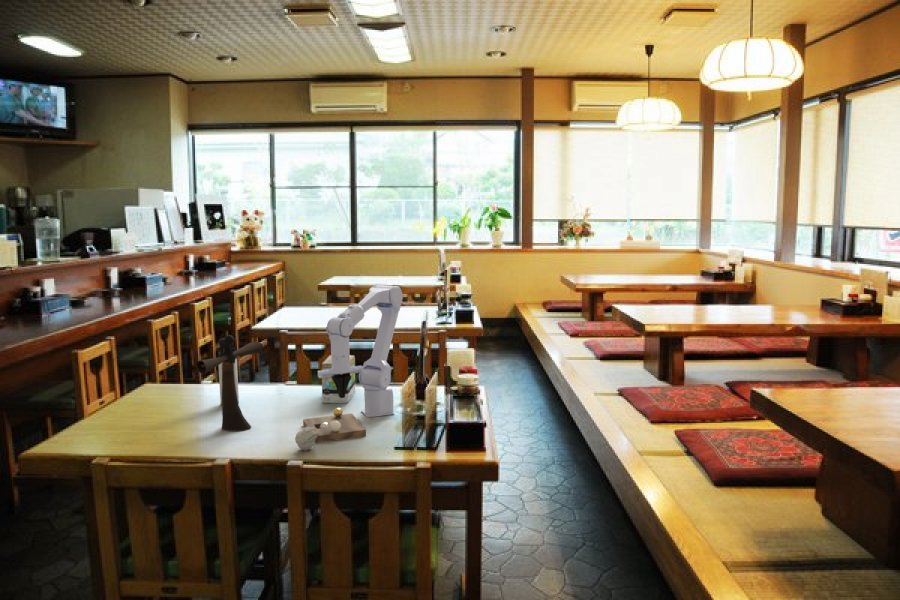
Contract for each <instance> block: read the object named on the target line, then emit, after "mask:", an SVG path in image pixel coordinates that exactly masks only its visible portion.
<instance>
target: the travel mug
mask: <svg viewBox="0 0 900 600" xmlns="http://www.w3.org/2000/svg"><path fill="white" fill-rule="evenodd" d="M232 351H233V352H235V351H237V348H235V347H232ZM220 352H221V350H220V351H218V352H217V357H221V355H220ZM222 353H223V352H222ZM223 355H224V353H223V354H222V356H223ZM233 364H234V377H235V387H236V393H237V399H238V404H240V399H239V398H240V397H239V379H238V378H239V377H238V359H237V357H235V363H233ZM218 381H219V397H220V398H219V399H220V406H221V407H222V363H221V364H219V365H218Z"/></svg>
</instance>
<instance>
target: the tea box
mask: <svg viewBox="0 0 900 600" xmlns="http://www.w3.org/2000/svg"><path fill="white" fill-rule="evenodd" d="M350 366H356V357H355V355H351V354H350ZM330 368H332V361H331V354H329V355H328V357H327V358H325V360H323V362H322V363H321V370H326V369H330ZM350 375H351V380H350V382H349V384H348V386H347V389H346V393H345V398H340V397H339V395H338V391H337V388H336V385H335V383H334V381H333V379H332V377H331V376H329V377H323V378H321V401H322V402H321V403H322V404H325V403H326V404H349V402H350V401H351V399H352V397H353V396H354V394H355V392H356V373H352V374H350Z"/></svg>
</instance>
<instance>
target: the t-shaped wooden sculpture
mask: <svg viewBox="0 0 900 600" xmlns="http://www.w3.org/2000/svg"><path fill="white" fill-rule="evenodd" d="M234 342H235V338H234V336H233V335H231V334H227V335H226V336H225V337H222V338H220V339H219V340H218V345H219V347H220V351H221V352H220V355H221V357H218V356H217V357H214V358H213V357H211V358H207V359H201V360H198V361H197V363H196V366H197V367H196V368H197V370H198V372H199V373H200V374H201V375H205V374H207V373H208V372H210V371H211V370H213V369H215V368H216V367H217V366H218V367H219V364H221V363H222V406H221V415H222V416H221V417H222V421H221V422H222V423H221V429H222V430H224V431H230V432H240V431H247V430H250V429H251V428H252V426H251V424H250V423H249V422H248V420H247V419H246V418H245V416H244V415H243V412H242V409H241V407H240V405H239V404H240V403H239V404H238V399H237V393H236V387H235V377H234V364H233V363H235V357H236V358H237V357H244V356H249V355H257V354H260V353H261V352H263V350H264V345H263V343H261V342H260V341H259V342H258V341H252V342H249V343H247V344H245V345H243V346H242V347H240V348H238V349H236V351H235V352H233V351H232V348H233V346H234ZM222 352H223V353H224V355H223V356H222V354H223V353H222Z"/></svg>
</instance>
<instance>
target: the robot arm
mask: <svg viewBox="0 0 900 600" xmlns="http://www.w3.org/2000/svg"><path fill="white" fill-rule="evenodd" d="M403 298H404V295H403V292H402V289H401V287H400V286H399V285H382V284H374V285H372V287H370V288H369V290H368V293H367V294H366V295H365V296H364V297H363V298H362V299H361V300H360V301H359V302H358V304H356V303H354V304H349V305H348V307H347V308H346V309H345V310H344V311H342V312H341V313H339V315H338V316H336V317H335V316H332V317H331V318H330V319H329V320H328V321H327V323H326V326H325V330H326V333H327V334H328V339H329V341H330V353H331V354H330V355H331V361H332V368H330V369H326V370H322V369H321V370H317V377H318V378H319V379H322V378H323V377H329V376H331V377H332V379H333V381H334V383H335V385H336V388H337V391H338V395H339V397H340V398H345V393H346V389H347V386H348V384H349V382H350V380H351V375H350V374H352V373H355V374H358V373H359V374H358V381H359V383H360V385H362V388H363V389H364V409H361V412H362V414H364V416H365V417H367V418H372V417H373V418H374V417H382V416H389V415H390V416H391V415H394V414H395V412H394V392H393V388H392V387H391V386H390V383H391V380H392V375H391V373H392V367H391V366H390V364H389V363H388V361H387V360H388V356H389V352H390V349H391V344H392V340H393V337H394V333H395V329H396V324H397V319H398V316H399V312H400V310H401V306H402V302H403ZM374 306H375V307H376V309H378V311H380V313H381V318H380V320H379V326H378V329H377V333H376V337H375V342H374V345H373V349H372V354H371V356H370V358H369V359H367V360H366V361H364V362H363V365H355V366H350V355H351V354H350V336H351V335H352V333H353V330H354V328H355V327H356V325H357V324H358V323H360V322H361V321H362V320H363V319H364V318H365V314H366V312H368V311H369V310H371V309H372V308H373V307H374Z"/></svg>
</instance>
